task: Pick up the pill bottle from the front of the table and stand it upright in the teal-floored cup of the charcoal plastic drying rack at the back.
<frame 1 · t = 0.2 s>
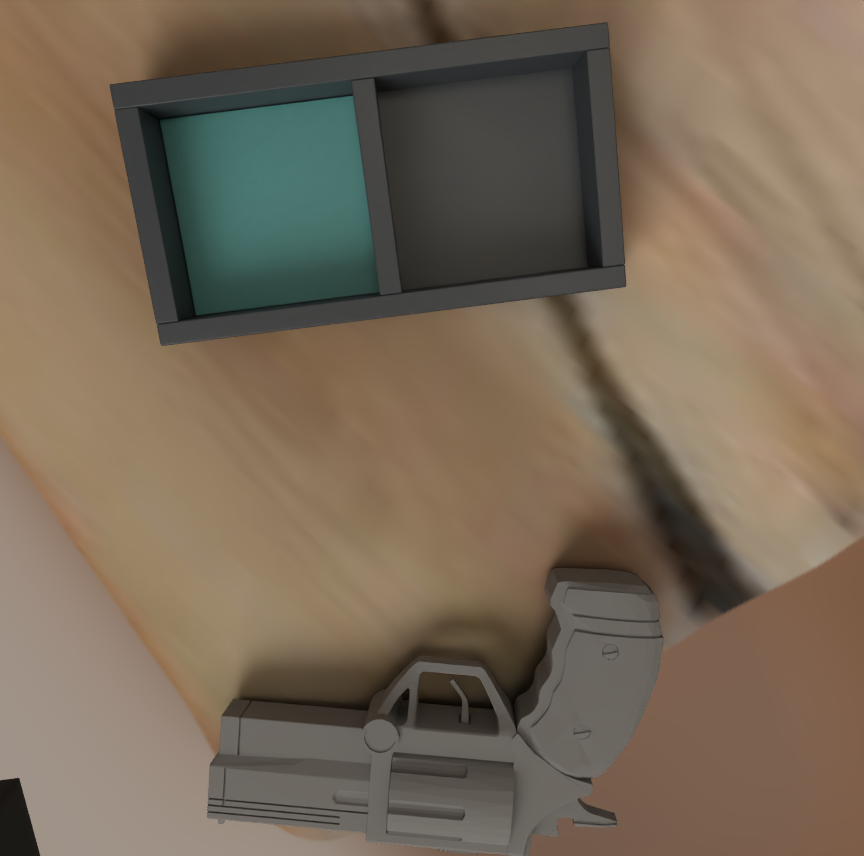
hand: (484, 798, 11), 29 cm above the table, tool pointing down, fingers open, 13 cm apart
rack: (379, 196, 37), on the table
revolver: (443, 558, 40), point 1 cm above the table
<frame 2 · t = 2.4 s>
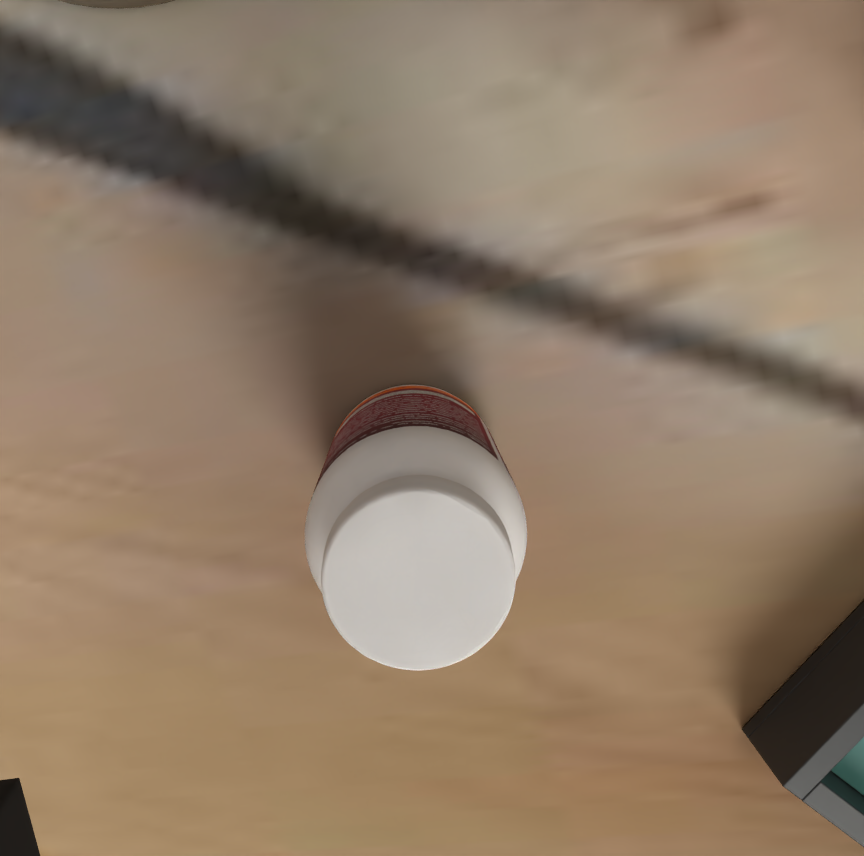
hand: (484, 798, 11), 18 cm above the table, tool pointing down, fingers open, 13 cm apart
pill bottle: (413, 462, 29), on the table
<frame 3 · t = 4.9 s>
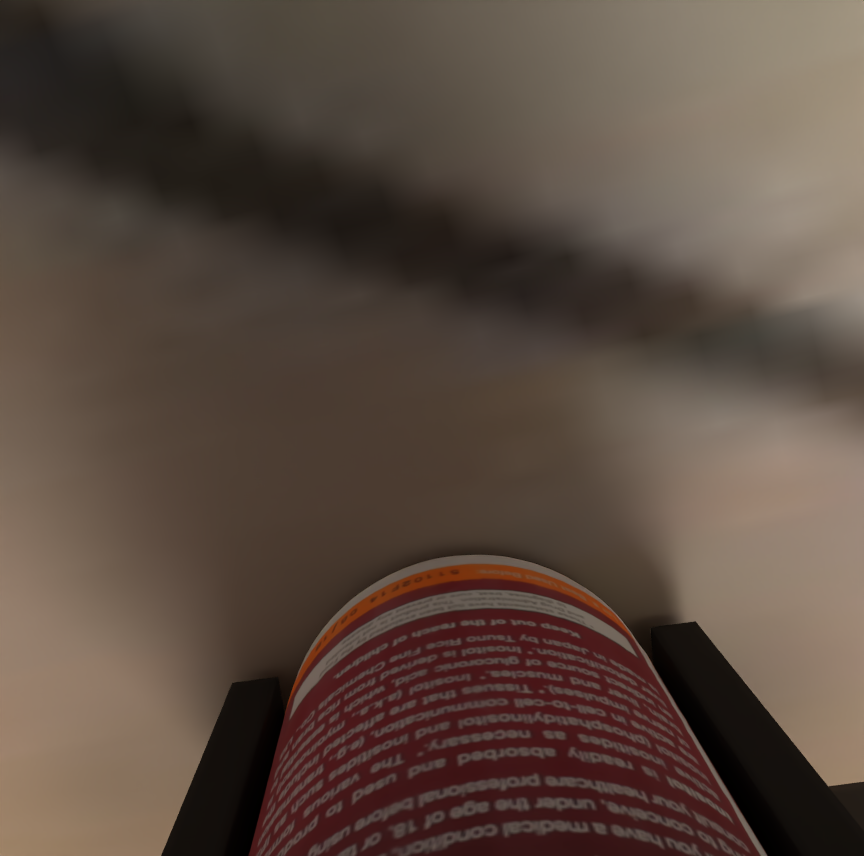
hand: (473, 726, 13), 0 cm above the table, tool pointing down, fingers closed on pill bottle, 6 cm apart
pill bottle: (471, 706, 14), on the table, touching gripper
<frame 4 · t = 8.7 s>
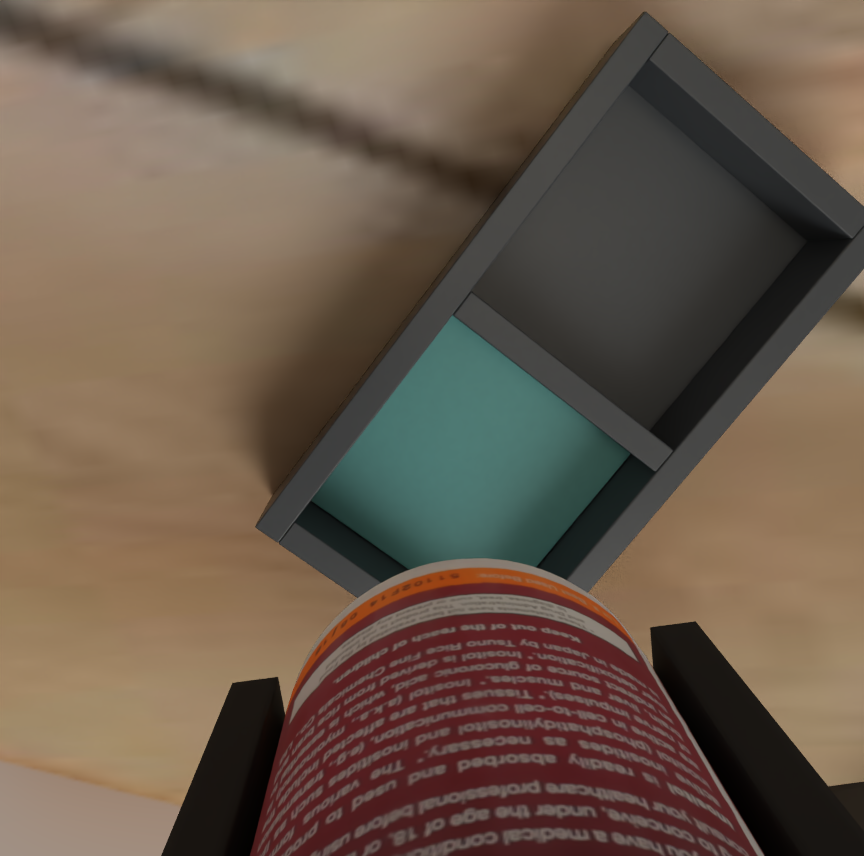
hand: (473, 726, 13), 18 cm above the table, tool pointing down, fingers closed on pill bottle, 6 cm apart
rack: (547, 369, 30), on the table
pill bottle: (471, 710, 14), point 17 cm above the table, touching gripper
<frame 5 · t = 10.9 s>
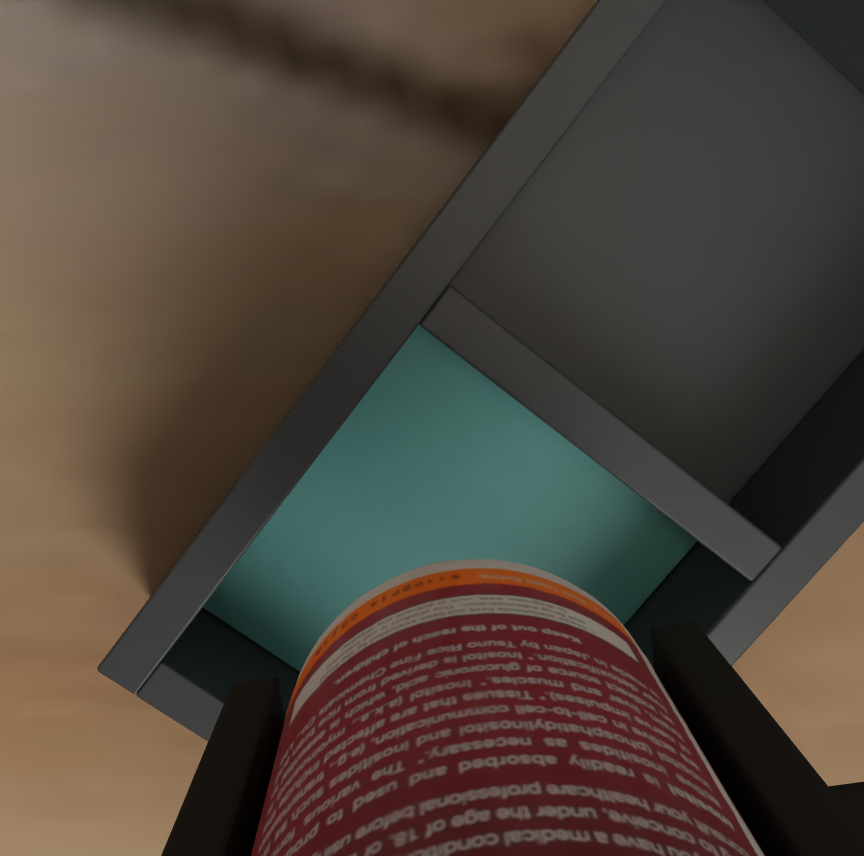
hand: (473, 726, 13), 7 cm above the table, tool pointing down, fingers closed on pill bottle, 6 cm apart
rack: (571, 408, 19), on the table
pill bottle: (471, 710, 14), point 7 cm above the table, touching gripper
when the fingers open (1 cm above the table, at t = 12.8 s): pill bottle stays where it is, resting on rack.
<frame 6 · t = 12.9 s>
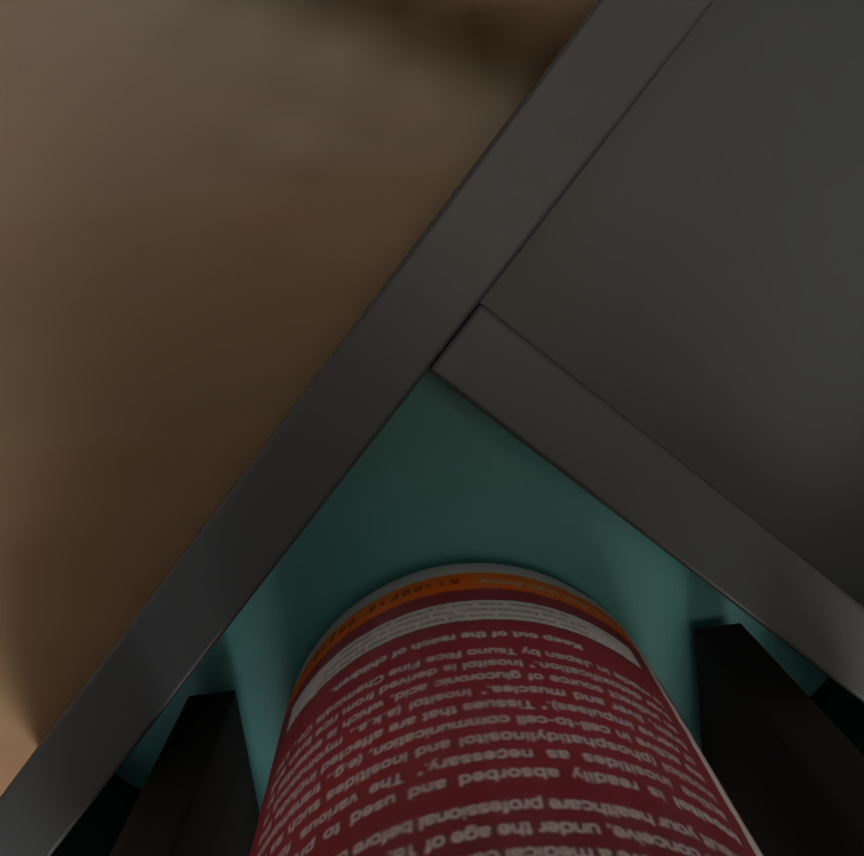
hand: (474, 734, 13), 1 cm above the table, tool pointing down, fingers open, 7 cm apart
rack: (648, 478, 13), on the table
pill bottle: (471, 715, 13), point 1 cm above the table, touching rack
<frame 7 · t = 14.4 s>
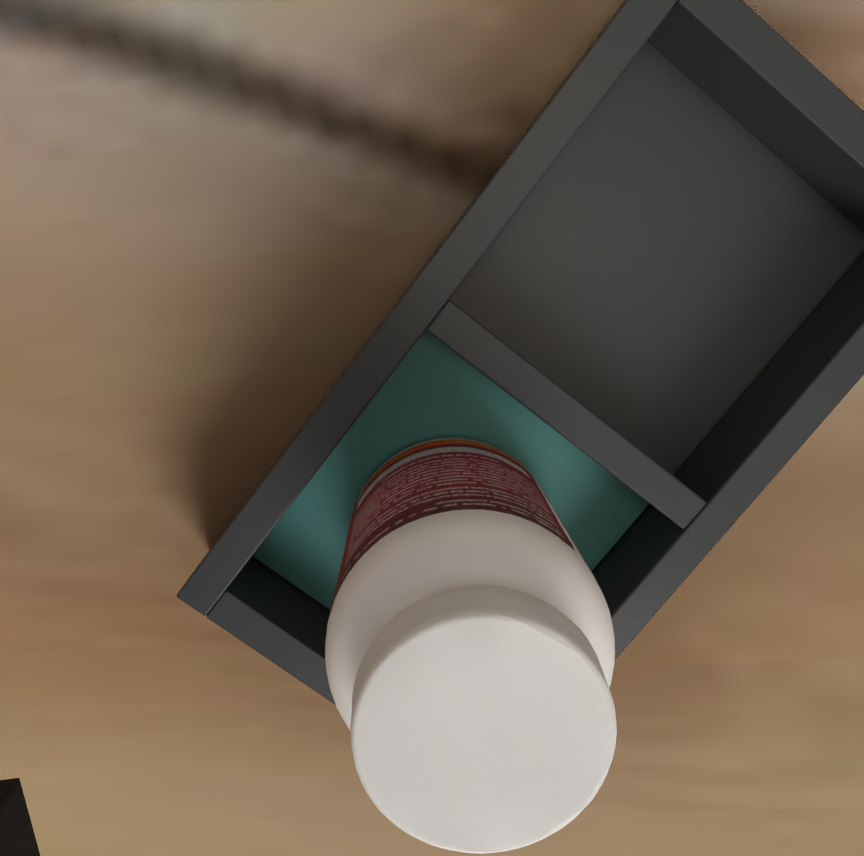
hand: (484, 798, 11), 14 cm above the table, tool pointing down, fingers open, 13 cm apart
rack: (547, 397, 24), on the table
pill bottle: (450, 528, 24), point 1 cm above the table, touching rack
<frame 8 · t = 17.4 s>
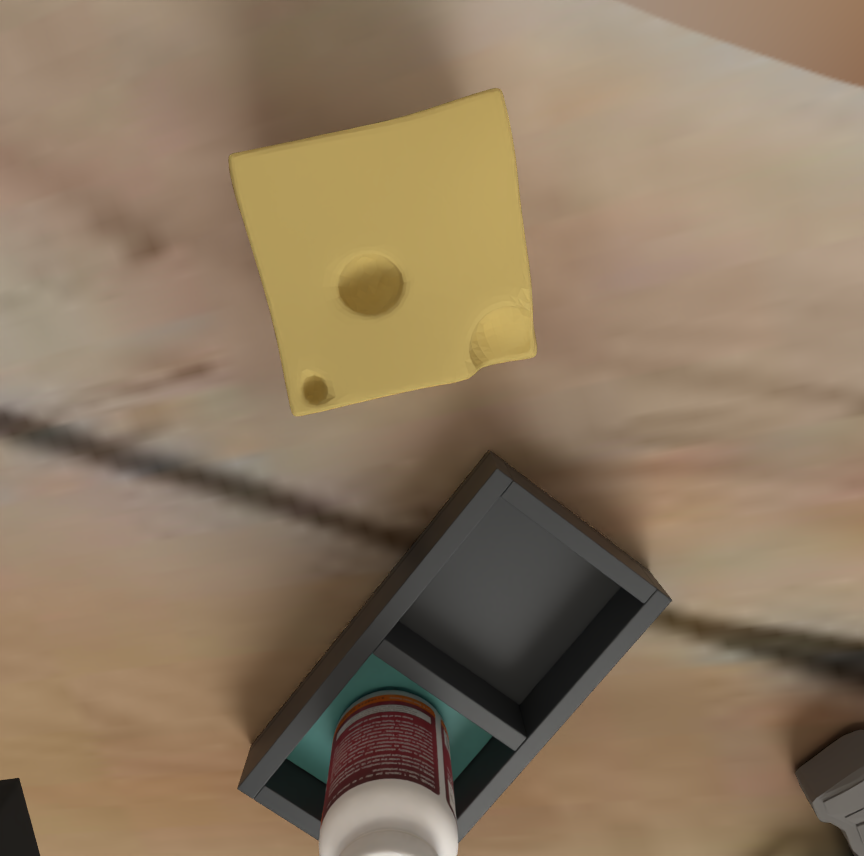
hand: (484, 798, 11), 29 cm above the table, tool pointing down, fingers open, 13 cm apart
rack: (447, 660, 42), on the table
pill bottle: (391, 735, 42), point 1 cm above the table, touching rack
cheese: (393, 261, 38), on the table
revolver: (712, 837, 44), point 1 cm above the table
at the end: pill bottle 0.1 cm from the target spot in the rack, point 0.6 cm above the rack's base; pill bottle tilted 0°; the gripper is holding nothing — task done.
